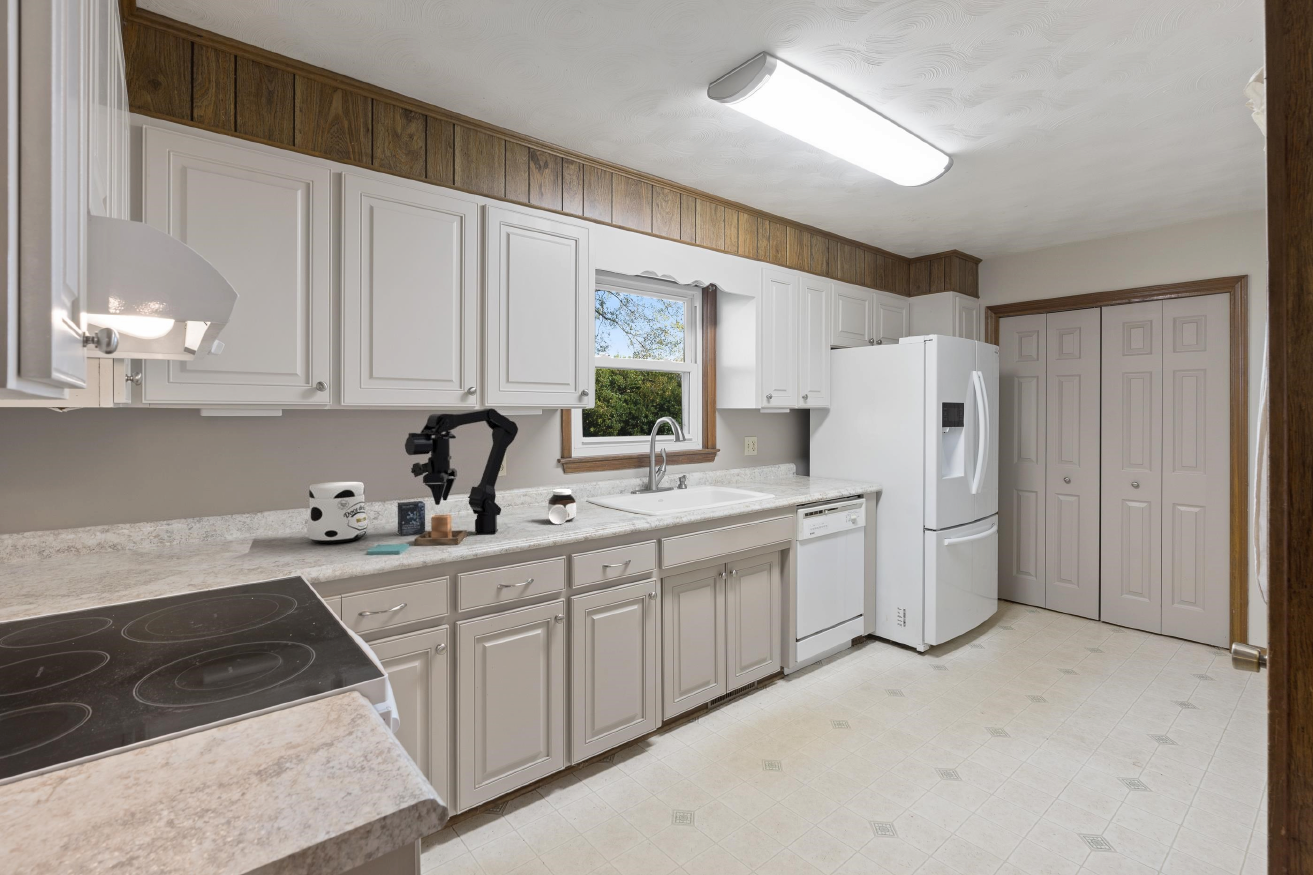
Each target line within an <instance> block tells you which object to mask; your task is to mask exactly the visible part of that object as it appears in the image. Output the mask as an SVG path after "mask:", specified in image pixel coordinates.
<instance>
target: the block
mask: <svg viewBox="0 0 1313 875" xmlns="http://www.w3.org/2000/svg"><path fill="white" fill-rule="evenodd" d="M430 521H431V522H430V523H431V524H430V531H431V538H453V537H452V531H453V530H452V514H434V515H433V516H431V517H430Z"/></svg>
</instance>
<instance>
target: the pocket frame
mask: <svg viewBox="0 0 1313 875" xmlns="http://www.w3.org/2000/svg"><path fill="white" fill-rule="evenodd" d="M466 536H467V537H468V531H467V530H466V529H463V530H461V529H459V530H452V538H431V530H425V532H424V533H423V534H419V535H418V536H417V537H415V538H414V542H413V543H414V547H418V546H419V547H420V546H423V545H426V546H458V545H460V544H461V543H462V542H463V541H464V540H465V539H466V538H467V537H466ZM465 537H466V538H465ZM464 538H465V539H464ZM463 539H464V540H463ZM423 547H424V546H423Z"/></svg>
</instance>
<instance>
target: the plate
mask: <svg viewBox="0 0 1313 875" xmlns="http://www.w3.org/2000/svg"><path fill="white" fill-rule="evenodd" d="M409 548H410V544H409V543H391V544H389V543H388V544H386V543H385V544H377V545H375V546H374V547H372V548H370V549H369V550H367V551H366V555H367V556H369V555H370V556H373V555H374V556H375V555H377V556H378V555H401V554H402V553H403V552H405V551H406V550H408V549H409Z"/></svg>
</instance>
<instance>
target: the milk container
mask: <svg viewBox="0 0 1313 875" xmlns="http://www.w3.org/2000/svg"><path fill="white" fill-rule="evenodd" d="M308 491H309V492H308V494H309V495H308V496H309V500H308V502H309V503H308V504H309V515H308V519H307V522H306V532H307V537H308V538H309V540H310V541H312V542H315V543H321V544H337V543H345V542H351V541H355V540H358V539H361V538H363V537H364V536H366V534H367V533H368V528H369V521H368V520H369V519H368V517H367V514H366V510H365V485H364V483H363V482H362V481H361V482H360V481H330V482H321V483H313V484H310V486H309V490H308Z"/></svg>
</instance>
